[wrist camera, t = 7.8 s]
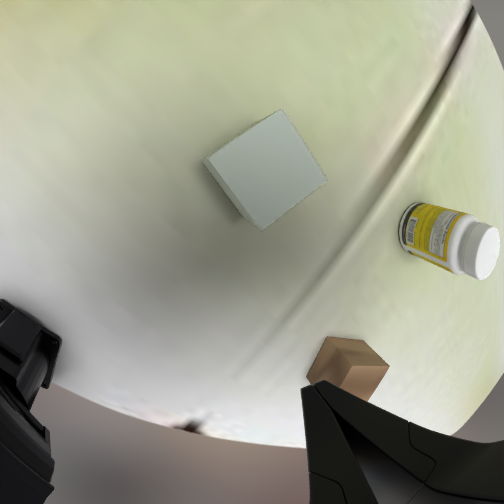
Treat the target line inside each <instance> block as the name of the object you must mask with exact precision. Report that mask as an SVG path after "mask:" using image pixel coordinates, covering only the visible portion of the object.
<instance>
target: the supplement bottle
mask: <svg viewBox="0 0 504 504" xmlns="http://www.w3.org/2000/svg"><path fill="white" fill-rule="evenodd" d="M399 237H400V242H401V244H402V246H403V248H404V249H405V250H406V251H407V252H408V253H410V254H412V255H414V256H417V257H419V258H421V259H424V260H426V261H428V262H430V263H432V264H435V265H437V266H439V267H441V268H443V269H445V270H447V271H450V272H452V273H454V274H456V275H463V274H468V275H469V276H472V277H474V278H476V279H478V280H484V279H485V278H487V277H488V276H489V275H490V273H491V272H492V270H493V268H494V266H495V264H496V261H497V258H498V254H499V249H500V236H499V232H498V230H497V229H496V228H495V227H494V226H491V225H488V224H486V223H481V222H479V221H478V220H477V218H476V217H474V216H473V215H470V214H467V213H463V212H459V211H455V210H451V209H447V208H443V207H439V206H435V205H430V204H426V203H415V204H413V205H411V206H410V207H409V208H408V209H407V210H406V212H405V213H404V215H403V217H402V220H401V223H400V228H399Z"/></svg>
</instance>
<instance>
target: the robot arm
mask: <svg viewBox="0 0 504 504" xmlns="http://www.w3.org/2000/svg"><path fill="white" fill-rule="evenodd" d="M1 305H2V306H1ZM2 307H3V308H2ZM54 341H56V342H57V343H55V342H54ZM61 344H62V341H61V339H60V338H59V337H58V336H57V335H55V334H53V333H52V332H50V331H48V330H47V329H45V328H43V327H42V326H40V325H39V324H37V323H36V322H34V321H33V320H31V319H30V318H28V317H27V316H25V315H24V314H22V313H21V312H19V311H18V310H16V309H15V308H14V307H12V306H11V305H9V304H8V303H7V302H5V301H4V300H2V299H0V504H43V503H44V502H45V500H46V498H47V497H48V496H49V495H50V494H51V493H52V491H53V490H54V486H52V485H51V484H50V482H51V479H52V475H53V472H54V464H55V462H54V459H52V458H51V449H50V432H49V430H47V428H46V427H45V426H42V425H41V424H40V422H39V421H38V420H37V419H36V418H35V417H34V416H33V415H32V414H31V413H30V409H31V407H32V404H33V402H34V399H35V397H36V395H37V393H38V390H39V388H40V386H41V387H43V388H45V389H48V388H49V386H50V382H51V378H52V375H53V371H54V367H55V364H56V360H57V357H58V354H59V350H60V347H61ZM301 399H302V408H303V417H304V427H305V437H306V448H307V458H308V470H309V484H310V504H504V440H502V441H497V442H491V443H480V442H474V441H469V440H465V439H461V438H457V437H453V436H449V435H445V434H441V433H438V432H435V431H432V430H429V429H426V428H424V427H421V426H419V425H416V424H414V423H412V422H408V421H407V420H405V419H403V418H401V417H399V416H396V415H394V414H392V413H390V412H388V411H386V410H384V409H381V408H379V407H377V406H375V405H373V404H371V403H369V402H367V401H365V400H363V399H361V398H359V397H357V396H355V395H353V394H351V393H349V392H347V391H345V390H344V389H342V388H340V387H338V386H336V385H334V384H332V383H330V382H328V381H327V380H321V381H318V382H316V383H314V384H313V385H308V386H306V387H303V388H301Z"/></svg>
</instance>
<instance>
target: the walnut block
mask: <svg viewBox="0 0 504 504" xmlns="http://www.w3.org/2000/svg"><path fill="white" fill-rule="evenodd" d="M389 367H390V366H389V365H388V364H387V363H386V362H385V361H384V360H383V359H382V358H381V357H380V356H379V355H378V354H377V353H376V352H375V351H374V350H373V349H372V348H371V347H370V346H369V345H368V344H367V343H365V342H364V341H363V340H354V339H345V338H336V337H328V336H327V337H326V339H325V341H324V343H323V345H322V347H321V349H320V351H319V353H318V355H317V357H316V359H315V361H314V363H313V364H312V366H311V368H310V370H309V372H308V374H307V376H306V377H307V379H308V380H309V382H310V383H311V385H313V384H314V383H316V382H318V381H321V380H327V381H328V382H330V383H332V384H334V385H336V386H338V387H340V388H342V389H344V390H345V391H347V392H349V393H351V394H353V395H355V396H357V397H359V398H361V399H363V400H365V401H368V400H369V398H370V397H371V395H372V394H373V392H374V391H375V389H376V388H377V386H378V385H379V383H380V382H381V380H382V378H383V377H384V375H385V373H386V372H387V370H388V368H389Z"/></svg>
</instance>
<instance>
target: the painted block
mask: <svg viewBox="0 0 504 504" xmlns="http://www.w3.org/2000/svg"><path fill="white" fill-rule="evenodd" d="M202 163H203V164H204V165H205V167H206V168H207V169H208V171H209V172H210V173H211V175H212V176H213V177H214V179H215V180H216V181H217V183H218V184H219V185H220V187H221V188H222V189H223V191H224V192H225V193H226V195H227V196H228V197H229V199H230V200H231V201H232V203H233V204H234V205H235V207H236V208H237V209H238V211H239V212H240V213H241V215H242V216H243V217H244V218H245V219H247V220H248V221H249V222H250V223H252V224H253V225H254V226H255V227H257V228H258V229H259V230H261V231H263V230H264V229H265V228H267V227H268V226H269V225H270V224H272V223H273V222H274V221H276V220H277V219H278V218H280V217H281V216H282V215H283V214H285V213H286V212H287V211H289V210H290V209H291V208H293V207H294V206H295V205H296V204H298V203H299V202H300V201H302V200H303V199H304V198H306V197H307V196H308V195H310V194H311V193H312V192H314V191H315V190H316V189H317V188H319V187H320V186H321V185H323V184H324V183H325V182H327V181H328V179H327V178H326V176H325V174H324V173H323V171H322V169H321V168H320V166H319V164H318V163H317V161H316V159H315V158H314V156H313V155H312V153H311V151H310V150H309V148H308V147H307V145H306V143H305V142H304V140H303V139H302V137H301V136H300V134H299V132H298V131H297V129H296V128H295V126H294V125H293V123H292V122H291V120H290V119H289V117H288V116H287V115H286V113H285V112H284V110H283V109H280V110H278V111H276V112H274V113H273V114H271V115H269V116H267V117H265V118H263V119H262V120H260V121H258V122H257V123H255V124H253V125H252V126H250V127H249V128H247V129H246V130H244V131H243V132H241V133H240V134H238V135H237V136H236V137H234V138H233V139H231V140H230V141H228V142H227V143H225V144H224V145H223V146H221V147H220V148H218V149H217V150H216V151H214V152H213V153H211V154H210V155H209V156H207V157H206V158H205V159H203V160H202Z"/></svg>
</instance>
